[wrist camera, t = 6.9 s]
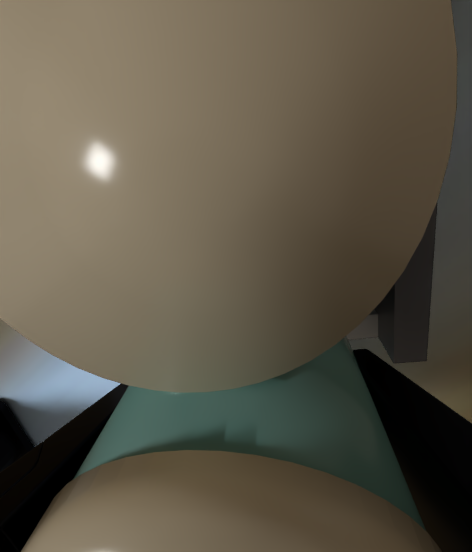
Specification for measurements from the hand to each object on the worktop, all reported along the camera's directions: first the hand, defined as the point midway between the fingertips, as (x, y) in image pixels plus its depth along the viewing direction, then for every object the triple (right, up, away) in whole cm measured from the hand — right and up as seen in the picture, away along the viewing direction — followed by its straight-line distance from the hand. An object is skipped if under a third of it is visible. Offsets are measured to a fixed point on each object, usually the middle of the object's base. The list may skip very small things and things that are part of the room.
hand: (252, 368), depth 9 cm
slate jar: (-1, +7, +1) cm, 7 cm away
